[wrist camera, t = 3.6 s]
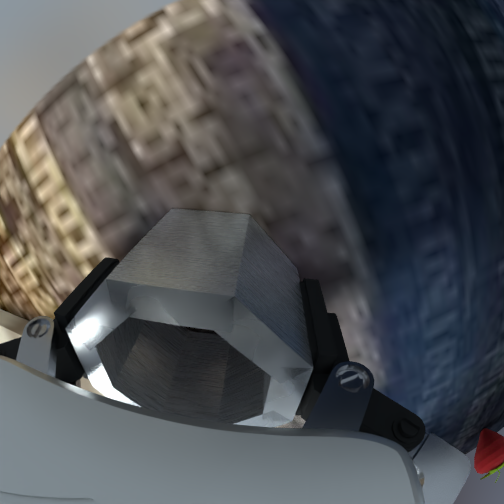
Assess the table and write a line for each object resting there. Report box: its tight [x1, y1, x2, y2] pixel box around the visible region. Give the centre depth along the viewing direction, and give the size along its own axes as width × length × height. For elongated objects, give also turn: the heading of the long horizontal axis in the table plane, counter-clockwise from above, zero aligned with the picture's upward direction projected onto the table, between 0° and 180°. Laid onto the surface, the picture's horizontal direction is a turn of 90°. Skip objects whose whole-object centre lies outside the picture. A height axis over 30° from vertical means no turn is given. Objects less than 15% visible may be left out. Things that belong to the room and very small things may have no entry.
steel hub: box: [65, 208, 313, 427], centre depth 9 cm, size 7×7×5 cm
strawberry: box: [474, 428, 504, 481], centre depth 17 cm, size 6×8×10 cm
